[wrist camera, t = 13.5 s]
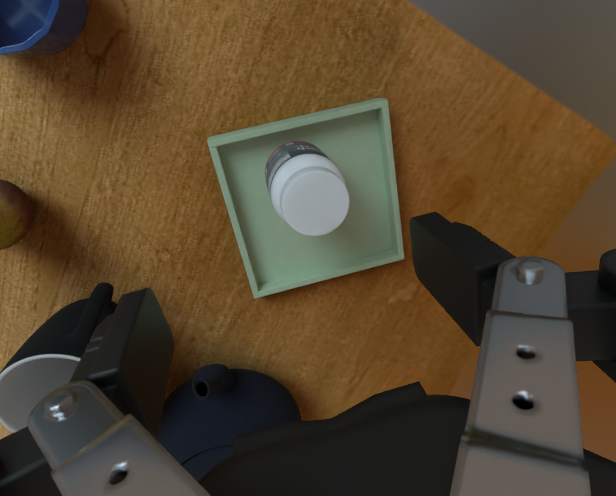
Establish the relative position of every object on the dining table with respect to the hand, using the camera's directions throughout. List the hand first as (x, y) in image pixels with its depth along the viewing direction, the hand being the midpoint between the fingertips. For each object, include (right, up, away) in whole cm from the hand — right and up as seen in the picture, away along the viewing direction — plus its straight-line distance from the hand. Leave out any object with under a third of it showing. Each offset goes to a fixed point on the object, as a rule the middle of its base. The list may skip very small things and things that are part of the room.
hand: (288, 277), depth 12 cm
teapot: (-9, -16, +34) cm, 39 cm away
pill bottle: (-1, +8, +24) cm, 25 cm away
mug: (-19, -5, +27) cm, 33 cm away
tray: (+1, +5, +26) cm, 26 cm away
